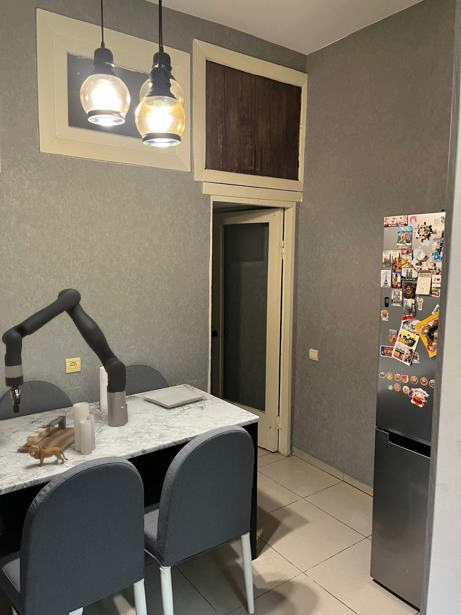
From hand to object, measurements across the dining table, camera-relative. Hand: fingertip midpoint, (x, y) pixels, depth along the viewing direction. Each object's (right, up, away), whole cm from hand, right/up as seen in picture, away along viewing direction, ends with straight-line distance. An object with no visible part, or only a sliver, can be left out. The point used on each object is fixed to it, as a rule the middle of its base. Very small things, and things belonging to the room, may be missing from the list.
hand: (16, 412), depth 209 cm
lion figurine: (+23, -17, -21) cm, 35 cm away
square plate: (+64, -9, +65) cm, 92 cm away
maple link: (+10, -13, +2) cm, 16 cm away
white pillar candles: (+34, -15, -7) cm, 38 cm away
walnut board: (+16, -14, +4) cm, 22 cm away
